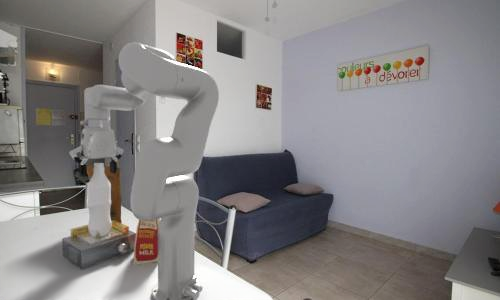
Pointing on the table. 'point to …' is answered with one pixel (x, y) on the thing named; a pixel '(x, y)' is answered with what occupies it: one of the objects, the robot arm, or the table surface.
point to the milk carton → (146, 242)
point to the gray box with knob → (97, 245)
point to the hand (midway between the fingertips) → (98, 174)
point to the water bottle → (99, 202)
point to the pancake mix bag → (112, 190)
